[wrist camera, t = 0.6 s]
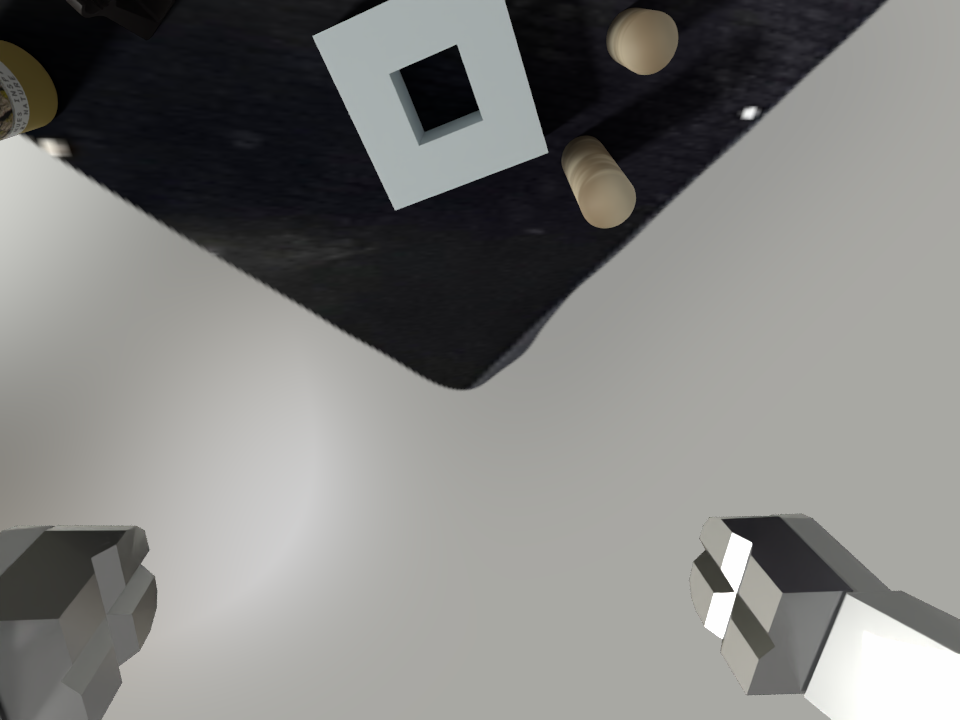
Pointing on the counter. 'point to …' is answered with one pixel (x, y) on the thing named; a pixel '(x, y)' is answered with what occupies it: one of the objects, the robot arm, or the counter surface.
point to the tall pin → (597, 182)
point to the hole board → (390, 111)
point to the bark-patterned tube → (24, 92)
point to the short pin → (642, 40)
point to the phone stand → (127, 13)
